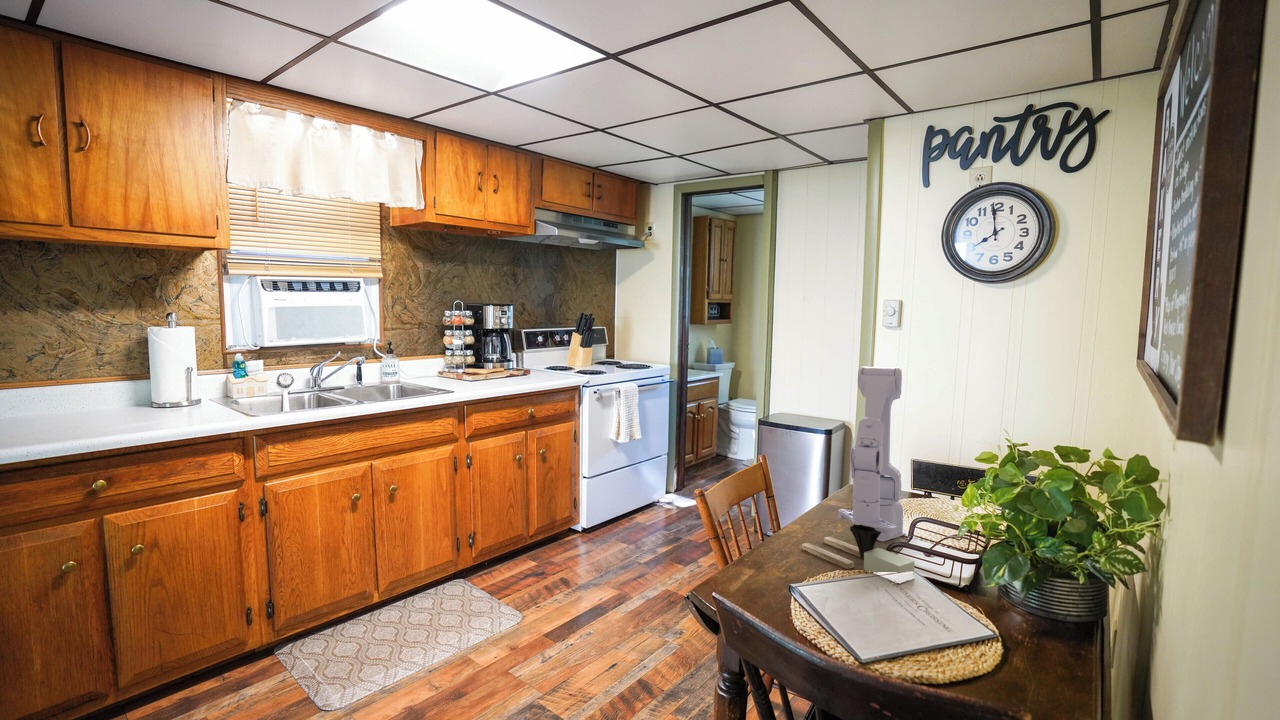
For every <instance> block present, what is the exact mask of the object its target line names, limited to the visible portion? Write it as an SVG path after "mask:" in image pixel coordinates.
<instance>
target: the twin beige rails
mask: <svg viewBox="0 0 1280 720" xmlns="http://www.w3.org/2000/svg"><path fill="white" fill-rule="evenodd" d="M823 543H824V544H827V545H829V546H831V547H833V548H836V549H839V550H842V551H844V552H847V553H850V554H851V555H854V556H856V557H859V558H861V557H860V553H859V549H858V546H856V545H854V544H850V543H848V542H845V541H843V540H840V539H837V538H835V537H832V536H826V537H823ZM801 550H803V551H805V550H806V552H807V551H808V552H807V553H810V554H812V555H814V556H816V555H817V557H819V558H821V559H824V560H825V561H828V562H831V563H833V564H834V565H835V564H836V565H837V566H839V567H842V568H844V569H847V570H849V569H852V568H854V567H855V562H854V561H852V560H850V559H847V558H845V557H843V556H840V555H838V554H837V553H836V554H835V553H834V552H831V551H829V550H826V549H824V548H821V547H819V546H817V545H814V544H812V543H809V542H806V543H802V544H801Z"/></svg>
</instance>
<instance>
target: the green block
mask: <svg viewBox="0 0 1280 720" xmlns="http://www.w3.org/2000/svg"><path fill="white" fill-rule="evenodd" d="M863 570H864V571H866V570H867V571H866V572H868V571H870V572H869V573H871V572H897V573H901V572H906V571H914V572H915V560H913V559H910V558H907V557H904V556H902V555H899V554H896V553H895V552H891V551H890V550H889V551H888V550H886V549H883V548H881V547H876V548H873V550H870V551H867V552H864V559H863Z"/></svg>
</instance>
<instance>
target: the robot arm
mask: <svg viewBox="0 0 1280 720" xmlns="http://www.w3.org/2000/svg"><path fill="white" fill-rule="evenodd" d="M902 381H903V375H902V369H901V367H899V366H896V367H888V366H885V367H884V366H879V367H878V366H865V365H864V366H861V367H860V368H859V369H858V372H857V387H858V389H859V392H860V393H861V395H862V397H863V398H865V403H864V404H865V407H864V418H862V419H861V420H860V421H859V422H858V423H857V424H858V426H857V432H856V439H855V443H854V444H855V445H854V447H851V450H850V456H849V462H850V470H851V479H852V510H849V509H845V508H840V509H837V518H838V519H839V520H846V521H849V522H851V524H852V525H851V526H849V531H850V532H851V534H852V535H853V538H854V539H855V542H856V545H857V547H858V549H859V553H860V557H859V558H862V559H863V560H864V552H867V551H870V550H873V549H875V548H874V547H875V544H876V542H877V541H879V542H886V541H890V540H892V539H896V538H899V537H902V536H905V535H906V532H905V531H903V530H904V511H903V510H904V509H903V506H902V504H901V502H900V500H901V498H902V497H901V496H902V479H901V478H902V477H901V475H902V474H901V471H900V470H899V469H897V467H895V466H894V465H893V464H892V463H890V462H891V461H890V457H891V456H890V454H891V453H890V452H891V449H890V448H891V419H892V418H891V415H892V414H891V410H892V405H893V403H894V401H895V400H899V399H900V398H901V395H902V384H903V383H902ZM880 475H885V476H880Z"/></svg>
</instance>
